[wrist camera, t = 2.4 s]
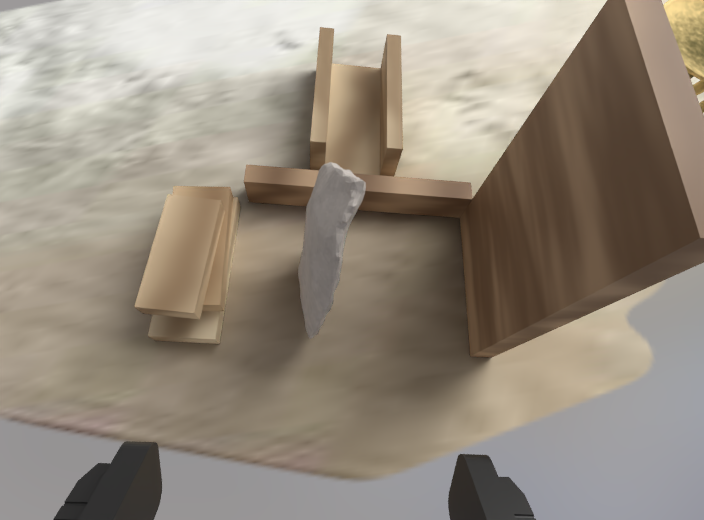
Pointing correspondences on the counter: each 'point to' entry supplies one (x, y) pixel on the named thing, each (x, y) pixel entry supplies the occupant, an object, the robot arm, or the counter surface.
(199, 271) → the offcut stack
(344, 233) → the stone tool
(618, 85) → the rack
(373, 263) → the counter surface
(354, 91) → the holder
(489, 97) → the counter surface
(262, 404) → the counter surface
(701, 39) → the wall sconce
